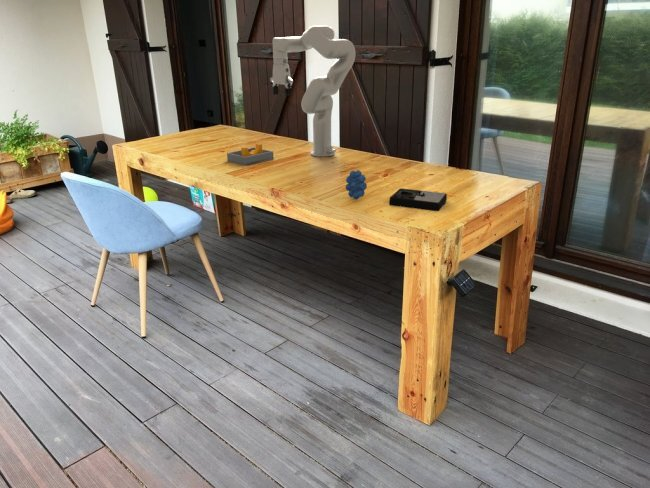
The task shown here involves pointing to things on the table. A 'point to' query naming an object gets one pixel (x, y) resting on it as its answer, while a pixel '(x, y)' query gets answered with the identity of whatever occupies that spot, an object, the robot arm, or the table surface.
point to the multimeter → (418, 199)
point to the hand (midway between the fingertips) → (281, 95)
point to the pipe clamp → (254, 152)
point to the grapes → (356, 184)
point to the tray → (249, 157)
